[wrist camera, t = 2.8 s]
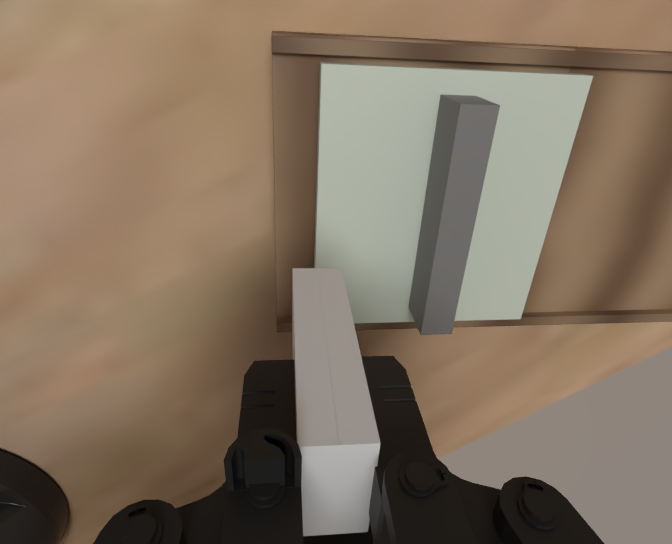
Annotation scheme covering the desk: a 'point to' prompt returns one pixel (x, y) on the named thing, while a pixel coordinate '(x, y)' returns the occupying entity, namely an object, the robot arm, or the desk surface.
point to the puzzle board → (576, 187)
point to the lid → (439, 186)
